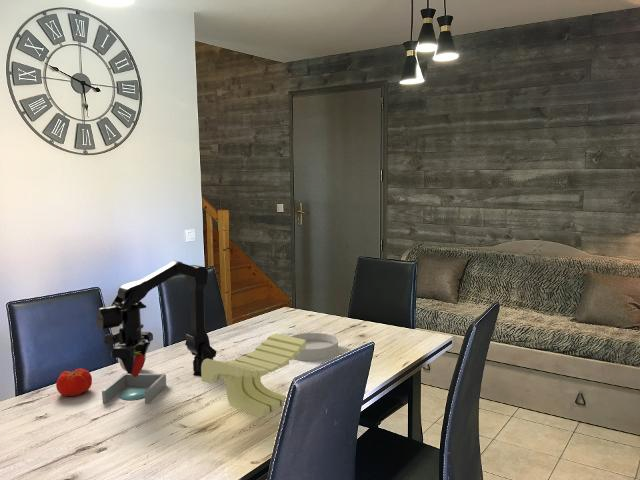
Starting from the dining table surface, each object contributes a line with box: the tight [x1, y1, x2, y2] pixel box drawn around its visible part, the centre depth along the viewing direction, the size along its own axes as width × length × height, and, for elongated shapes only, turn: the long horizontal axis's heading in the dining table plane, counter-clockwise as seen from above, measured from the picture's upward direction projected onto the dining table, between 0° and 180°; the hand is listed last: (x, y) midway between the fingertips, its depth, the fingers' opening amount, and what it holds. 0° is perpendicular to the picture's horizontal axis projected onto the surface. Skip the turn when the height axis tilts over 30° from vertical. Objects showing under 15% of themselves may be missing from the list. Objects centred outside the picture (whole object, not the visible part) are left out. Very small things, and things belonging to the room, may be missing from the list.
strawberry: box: [123, 351, 146, 377], centre depth 170 cm, size 6×8×10 cm
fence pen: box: [101, 373, 167, 405], centre depth 171 cm, size 15×15×4 cm
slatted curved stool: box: [200, 333, 306, 418], centre depth 161 cm, size 30×16×18 cm, turn 143°
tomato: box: [55, 368, 93, 397], centre depth 172 cm, size 11×11×8 cm
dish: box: [289, 332, 340, 362], centre depth 209 cm, size 22×22×5 cm
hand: (134, 369), depth 170 cm, fingers closed on strawberry, 7 cm apart
